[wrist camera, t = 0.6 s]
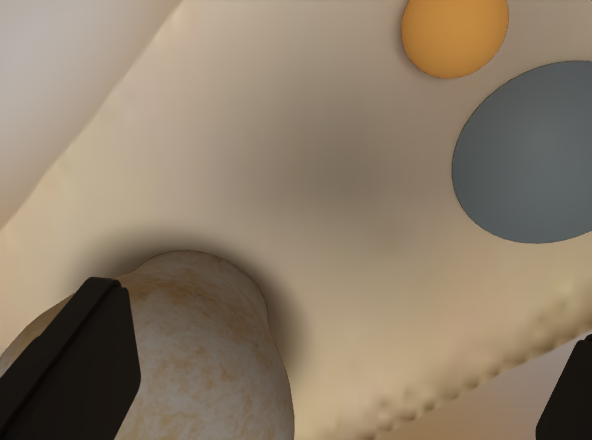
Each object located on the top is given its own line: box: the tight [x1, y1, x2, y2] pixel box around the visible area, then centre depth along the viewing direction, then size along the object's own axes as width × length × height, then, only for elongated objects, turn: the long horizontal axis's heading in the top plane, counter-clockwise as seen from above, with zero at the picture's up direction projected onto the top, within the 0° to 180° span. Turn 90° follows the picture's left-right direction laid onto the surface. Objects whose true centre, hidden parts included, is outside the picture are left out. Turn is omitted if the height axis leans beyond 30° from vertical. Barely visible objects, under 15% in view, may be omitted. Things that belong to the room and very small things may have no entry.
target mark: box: [452, 61, 592, 244], centre depth 34 cm, size 14×14×1 cm
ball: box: [401, 0, 509, 78], centre depth 27 cm, size 6×6×6 cm
